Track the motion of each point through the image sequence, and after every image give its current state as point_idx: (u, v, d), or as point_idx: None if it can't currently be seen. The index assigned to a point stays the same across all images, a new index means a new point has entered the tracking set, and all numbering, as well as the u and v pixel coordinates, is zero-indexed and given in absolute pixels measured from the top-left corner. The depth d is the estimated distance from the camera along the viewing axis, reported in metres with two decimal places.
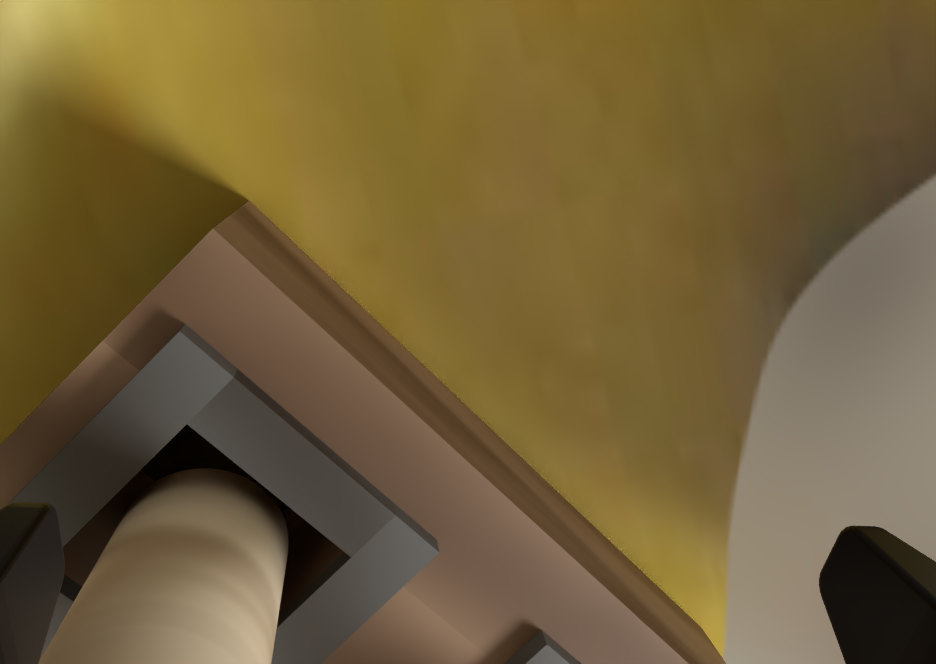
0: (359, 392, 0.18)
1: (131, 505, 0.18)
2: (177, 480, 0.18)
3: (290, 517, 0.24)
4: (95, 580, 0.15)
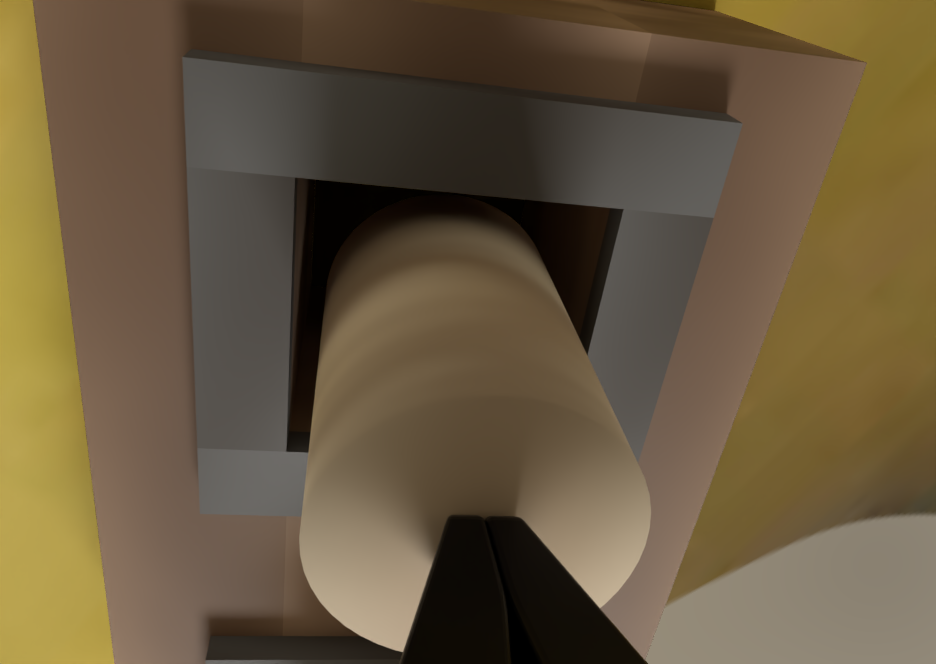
0: (738, 335, 0.14)
1: (444, 201, 0.13)
2: (516, 229, 0.13)
3: None
4: (503, 304, 0.10)
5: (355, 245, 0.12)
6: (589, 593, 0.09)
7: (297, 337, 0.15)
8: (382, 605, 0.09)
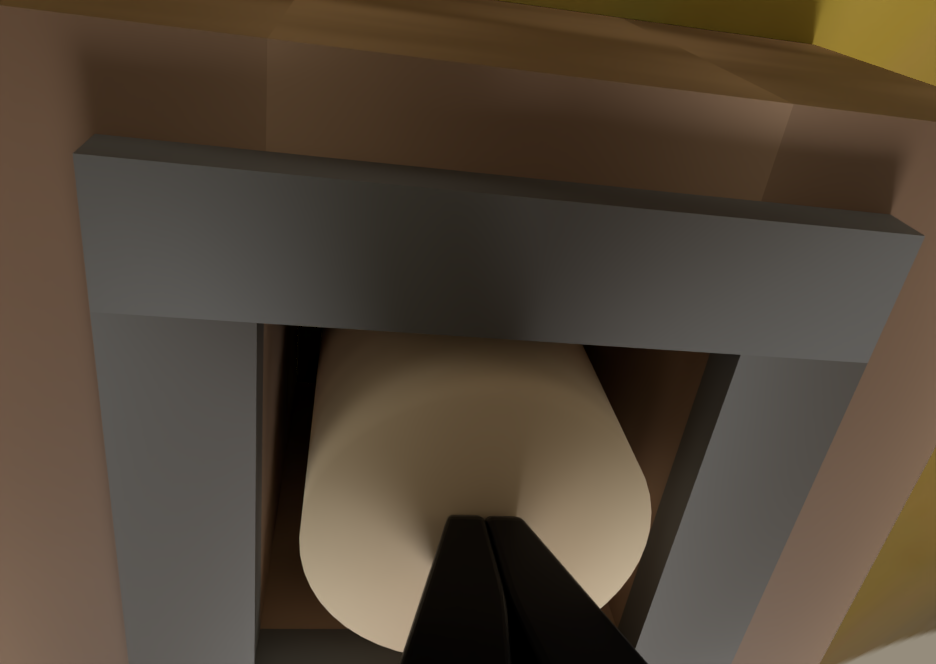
0: (873, 496, 0.10)
1: None
2: None
3: None
4: None
5: None
6: (589, 593, 0.09)
7: (272, 490, 0.11)
8: (382, 605, 0.09)
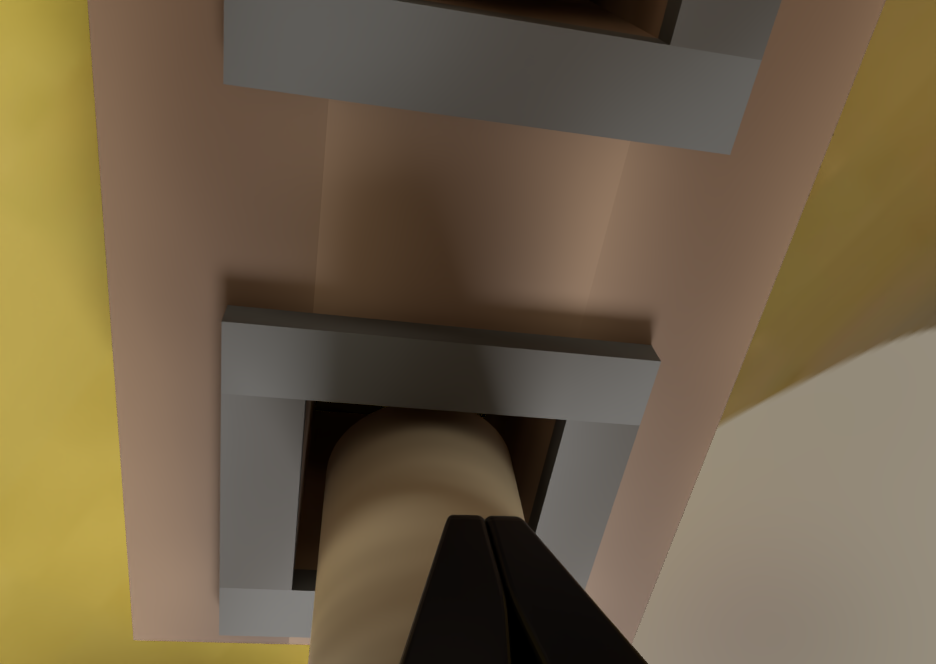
0: None
1: None
2: None
3: None
4: None
5: None
6: None
7: None
8: None
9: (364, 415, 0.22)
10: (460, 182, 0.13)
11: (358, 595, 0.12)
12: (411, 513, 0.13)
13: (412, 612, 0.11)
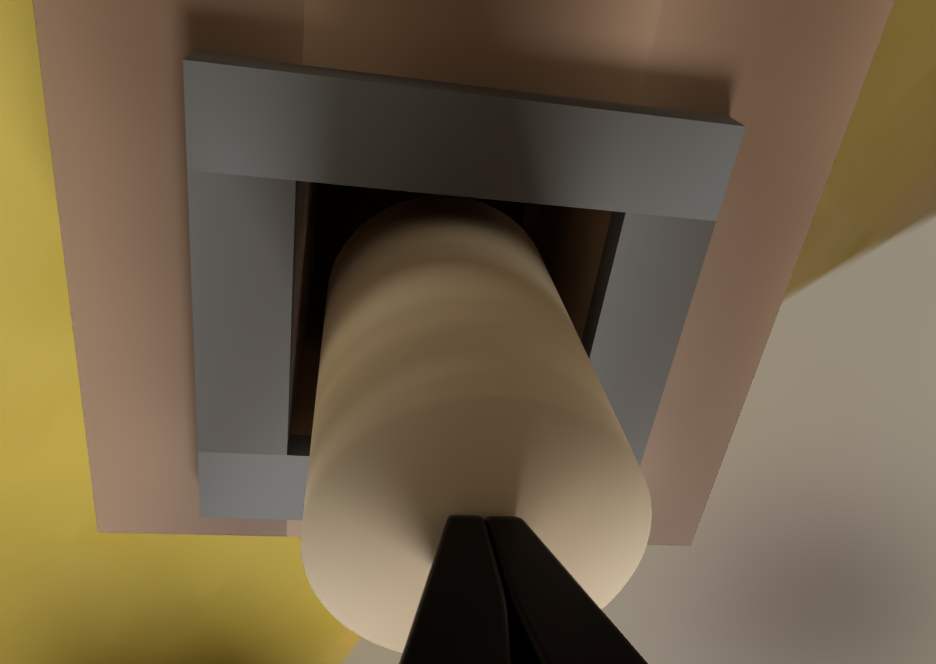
0: None
1: None
2: None
3: None
4: None
5: None
6: None
7: None
8: None
9: None
10: None
11: (371, 359, 0.09)
12: (434, 280, 0.10)
13: (444, 362, 0.08)
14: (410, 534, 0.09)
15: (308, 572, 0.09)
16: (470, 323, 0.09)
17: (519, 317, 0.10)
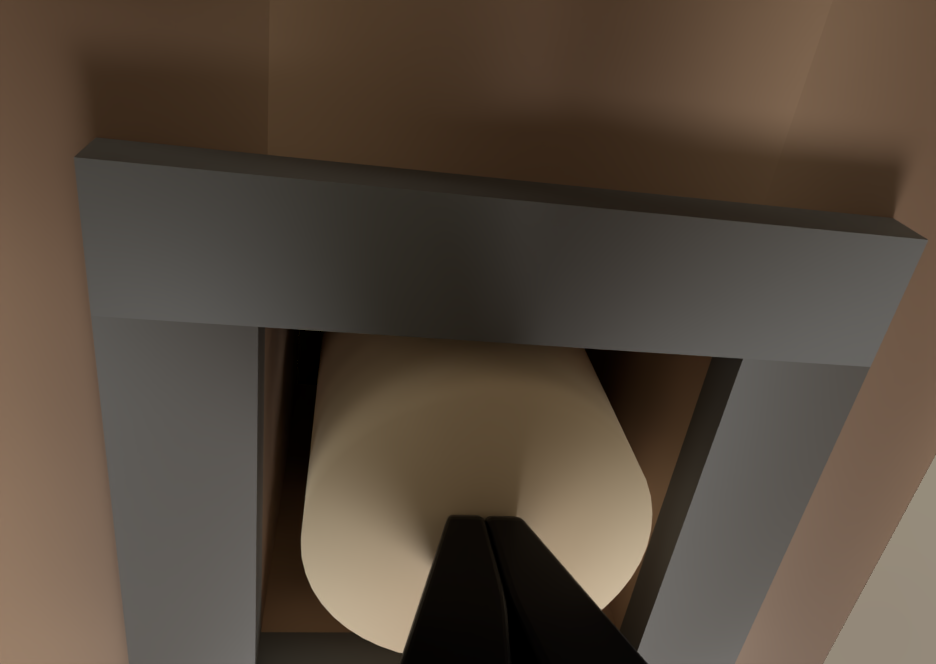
0: None
1: None
2: None
3: None
4: None
5: None
6: None
7: None
8: None
9: None
10: None
11: (371, 360, 0.09)
12: None
13: (444, 362, 0.08)
14: (411, 535, 0.09)
15: (309, 572, 0.09)
16: None
17: None
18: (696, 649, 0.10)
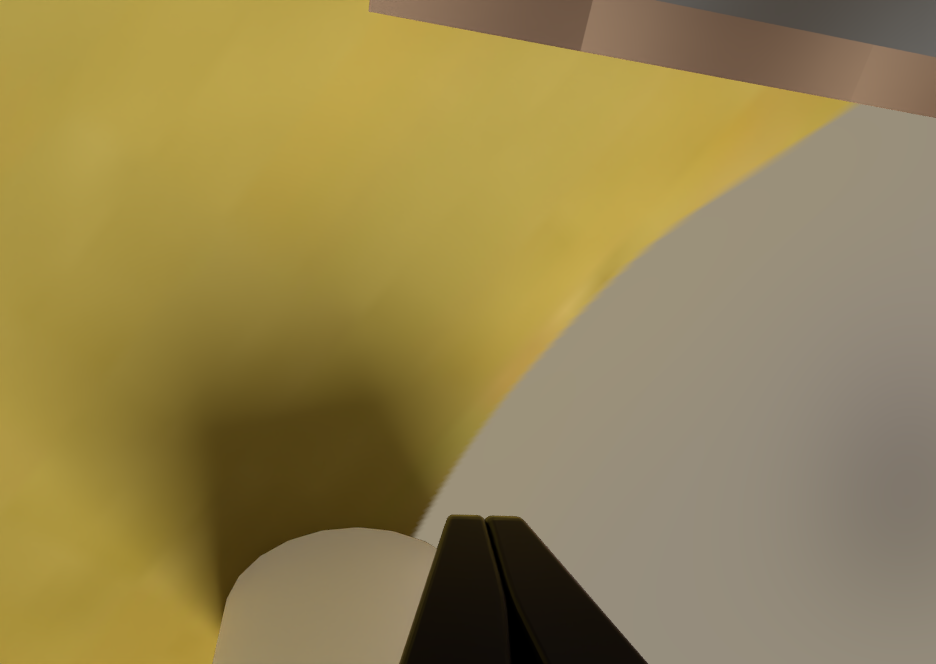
0: None
1: None
2: None
3: None
4: None
5: None
6: None
7: None
8: None
9: None
10: None
11: None
12: None
13: None
14: None
15: None
16: None
17: None
18: None
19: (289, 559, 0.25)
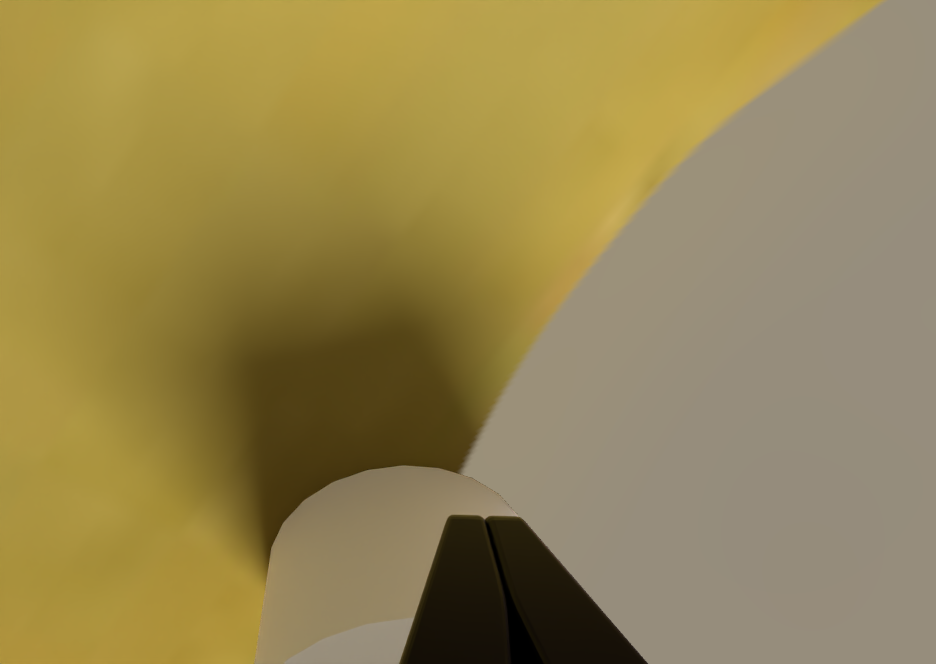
0: None
1: None
2: None
3: None
4: None
5: None
6: None
7: None
8: None
9: None
10: None
11: None
12: None
13: None
14: None
15: None
16: None
17: None
18: None
19: (336, 500, 0.24)
